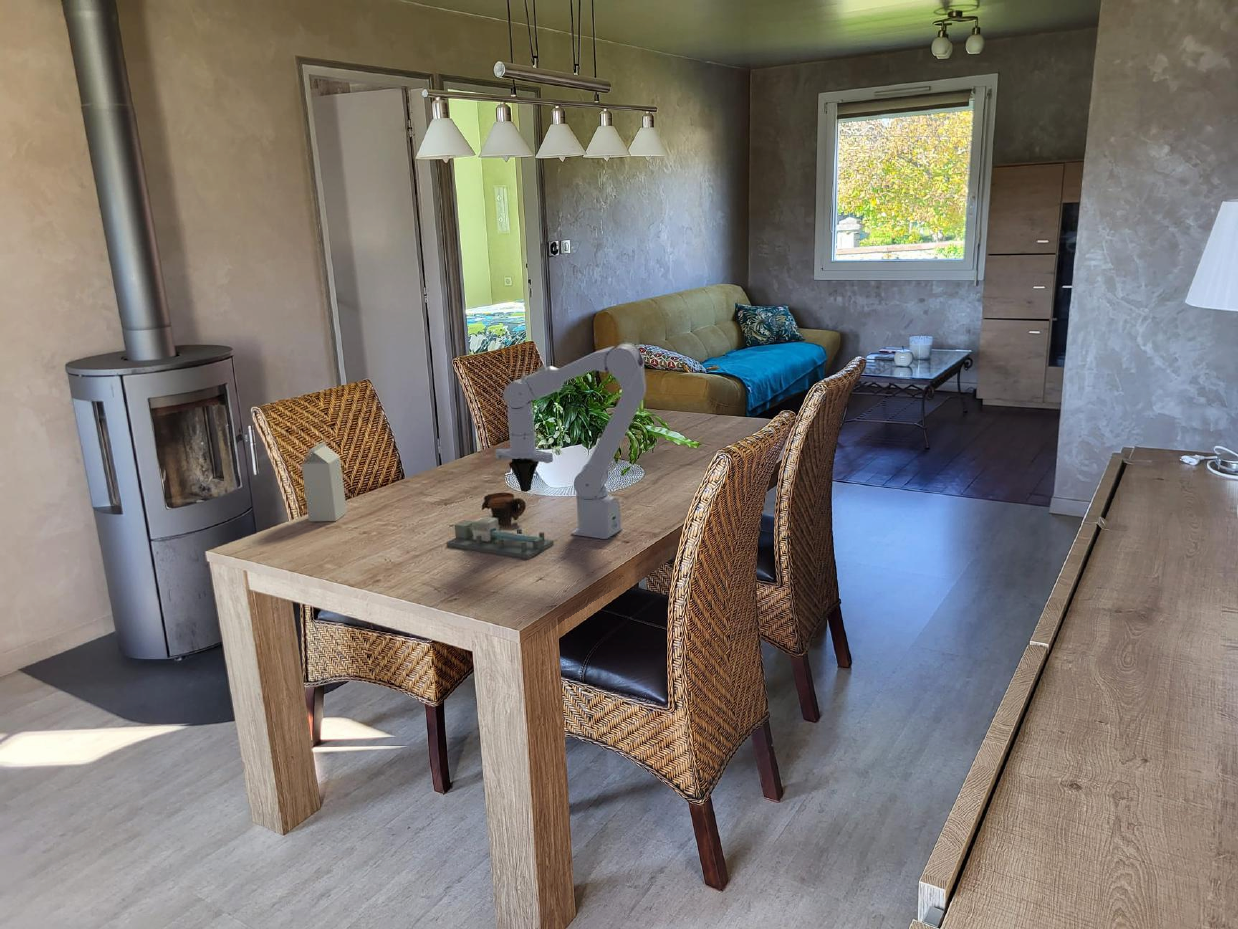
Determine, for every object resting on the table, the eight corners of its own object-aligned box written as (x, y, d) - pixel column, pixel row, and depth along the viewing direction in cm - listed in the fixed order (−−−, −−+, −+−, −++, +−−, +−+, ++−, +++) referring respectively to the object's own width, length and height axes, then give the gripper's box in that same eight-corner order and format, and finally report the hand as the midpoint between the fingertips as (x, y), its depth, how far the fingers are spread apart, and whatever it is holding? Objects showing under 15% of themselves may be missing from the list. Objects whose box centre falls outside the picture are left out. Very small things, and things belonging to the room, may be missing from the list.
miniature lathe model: (553, 544, 203) (552, 527, 202) (528, 559, 195) (526, 541, 194) (474, 532, 214) (472, 516, 213) (447, 546, 205) (445, 528, 204)
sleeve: (499, 535, 207) (497, 518, 206) (487, 541, 203) (486, 523, 202) (485, 533, 209) (483, 516, 208) (473, 539, 205) (471, 521, 204)
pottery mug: (475, 529, 218) (472, 496, 221) (496, 535, 227) (493, 502, 229) (518, 519, 214) (516, 485, 216) (538, 525, 222) (535, 493, 225)
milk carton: (347, 513, 234) (338, 440, 229) (336, 521, 227) (326, 447, 222) (320, 513, 235) (311, 441, 230) (308, 522, 228) (298, 448, 223)
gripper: (485, 434, 207) (490, 492, 211) (539, 438, 201) (543, 498, 204) (503, 428, 214) (507, 484, 217) (556, 432, 207) (559, 489, 210)
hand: (526, 490), depth 211 cm, fingers closed
